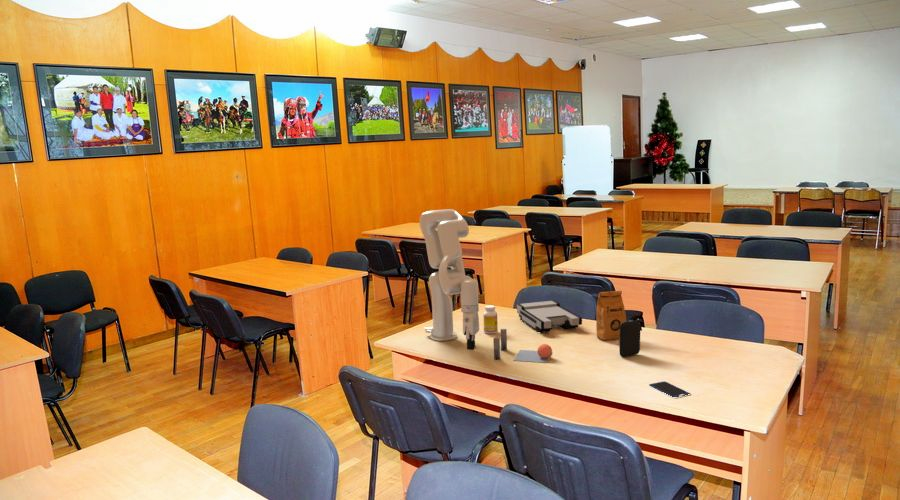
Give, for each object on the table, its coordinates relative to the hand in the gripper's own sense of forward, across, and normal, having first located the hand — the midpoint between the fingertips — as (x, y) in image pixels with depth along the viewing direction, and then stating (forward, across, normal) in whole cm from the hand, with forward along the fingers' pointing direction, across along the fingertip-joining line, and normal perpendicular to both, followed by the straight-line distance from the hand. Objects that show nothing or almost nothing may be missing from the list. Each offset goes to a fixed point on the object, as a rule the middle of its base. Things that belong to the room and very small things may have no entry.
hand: (471, 349), depth 263 cm
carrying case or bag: (+2, +9, -66) cm, 67 cm away
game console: (+2, +49, -26) cm, 56 cm away
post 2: (+2, +6, -13) cm, 15 cm away
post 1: (+2, -6, -13) cm, 15 cm away
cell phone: (+2, -26, -80) cm, 84 cm away
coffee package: (+2, +32, -57) cm, 65 cm away
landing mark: (+2, 0, -27) cm, 27 cm away
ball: (-2, -1, -32) cm, 32 cm away
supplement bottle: (+2, +31, -1) cm, 31 cm away
